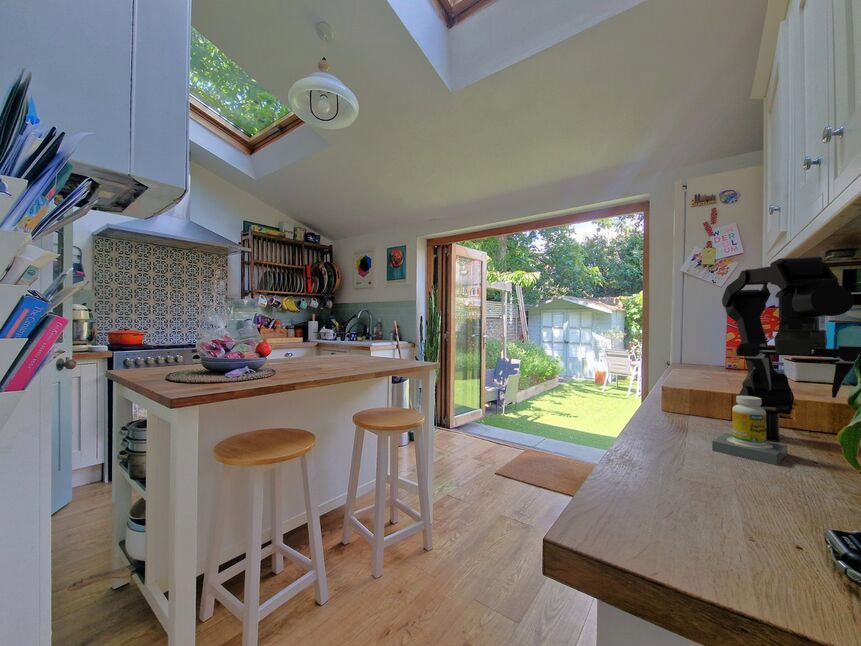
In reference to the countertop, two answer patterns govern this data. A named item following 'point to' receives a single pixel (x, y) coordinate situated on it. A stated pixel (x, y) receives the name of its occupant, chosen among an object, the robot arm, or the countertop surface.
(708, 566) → the countertop surface
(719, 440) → the slate base
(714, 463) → the countertop surface
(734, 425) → the supplement bottle
